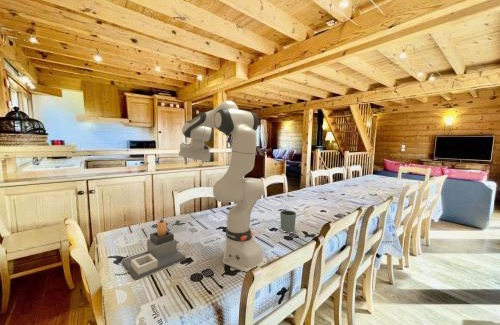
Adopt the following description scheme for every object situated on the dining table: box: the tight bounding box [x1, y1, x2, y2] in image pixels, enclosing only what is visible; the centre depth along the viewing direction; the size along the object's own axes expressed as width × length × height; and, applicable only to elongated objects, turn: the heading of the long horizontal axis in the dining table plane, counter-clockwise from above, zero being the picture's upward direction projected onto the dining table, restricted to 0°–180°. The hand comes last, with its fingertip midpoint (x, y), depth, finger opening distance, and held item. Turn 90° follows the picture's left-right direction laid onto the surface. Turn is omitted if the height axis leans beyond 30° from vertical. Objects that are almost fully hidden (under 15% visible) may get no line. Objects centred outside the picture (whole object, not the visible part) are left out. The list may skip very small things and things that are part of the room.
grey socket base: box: [121, 229, 186, 281], centre depth 99 cm, size 17×22×10 cm
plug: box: [156, 219, 167, 238], centre depth 104 cm, size 4×4×10 cm
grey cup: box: [280, 209, 297, 233], centre depth 139 cm, size 10×10×12 cm
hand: (192, 165), depth 141 cm, fingers open, 8 cm apart
